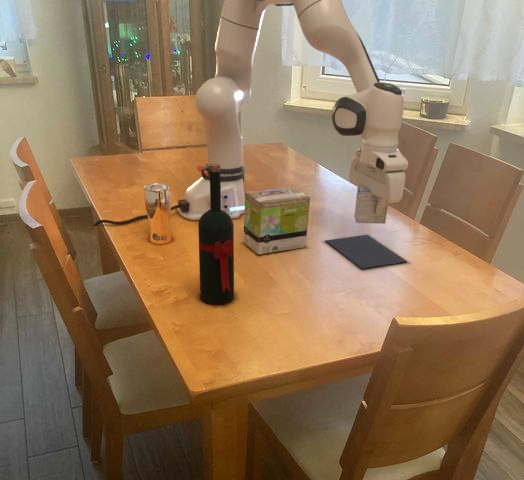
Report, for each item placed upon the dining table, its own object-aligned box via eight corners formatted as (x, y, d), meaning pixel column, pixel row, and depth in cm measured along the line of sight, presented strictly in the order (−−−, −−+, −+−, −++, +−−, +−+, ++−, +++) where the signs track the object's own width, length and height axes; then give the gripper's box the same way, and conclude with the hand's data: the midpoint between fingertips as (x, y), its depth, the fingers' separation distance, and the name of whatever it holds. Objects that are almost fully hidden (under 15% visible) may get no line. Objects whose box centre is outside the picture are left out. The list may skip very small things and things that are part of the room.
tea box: (259, 256, 146) (260, 202, 138) (242, 243, 153) (243, 191, 145) (306, 247, 152) (311, 195, 144) (289, 235, 159) (292, 184, 151)
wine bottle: (210, 312, 120) (207, 174, 103) (195, 292, 127) (189, 161, 111) (243, 306, 123) (245, 171, 106) (226, 287, 130) (225, 158, 114)
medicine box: (382, 218, 148) (387, 186, 143) (385, 224, 144) (390, 191, 139) (353, 217, 148) (357, 186, 143) (355, 223, 144) (359, 191, 139)
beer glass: (177, 237, 155) (174, 184, 147) (166, 246, 150) (162, 192, 142) (155, 233, 157) (151, 181, 149) (143, 242, 152) (138, 188, 143)
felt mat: (361, 270, 141) (362, 268, 141) (325, 241, 156) (325, 240, 156) (406, 262, 145) (407, 261, 145) (367, 236, 161) (367, 234, 161)
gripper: (346, 146, 143) (341, 198, 151) (390, 166, 128) (381, 223, 135) (367, 144, 146) (360, 196, 153) (412, 164, 130) (402, 220, 138)
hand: (370, 209), depth 144 cm, fingers closed on medicine box, 5 cm apart
